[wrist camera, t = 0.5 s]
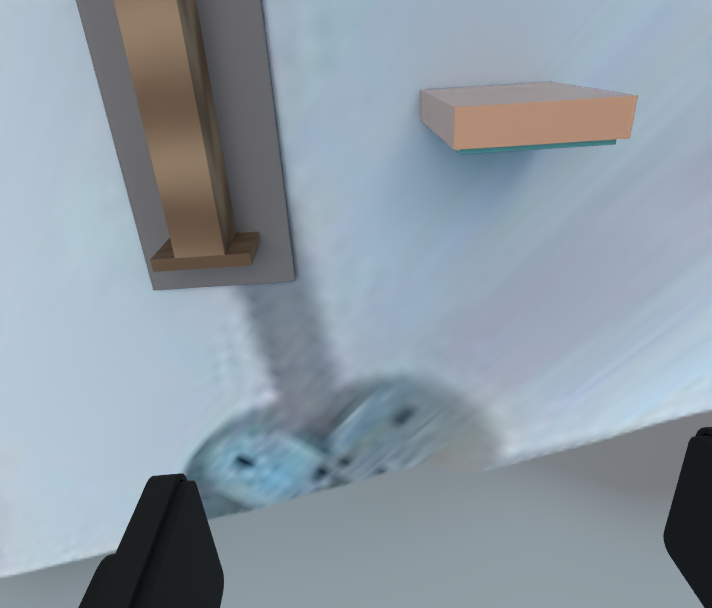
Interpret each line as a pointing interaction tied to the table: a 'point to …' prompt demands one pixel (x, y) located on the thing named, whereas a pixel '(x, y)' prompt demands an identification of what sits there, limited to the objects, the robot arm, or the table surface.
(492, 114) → the tile
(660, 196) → the table surface
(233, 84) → the tool mat
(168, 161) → the wooden beam
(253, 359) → the table surface
